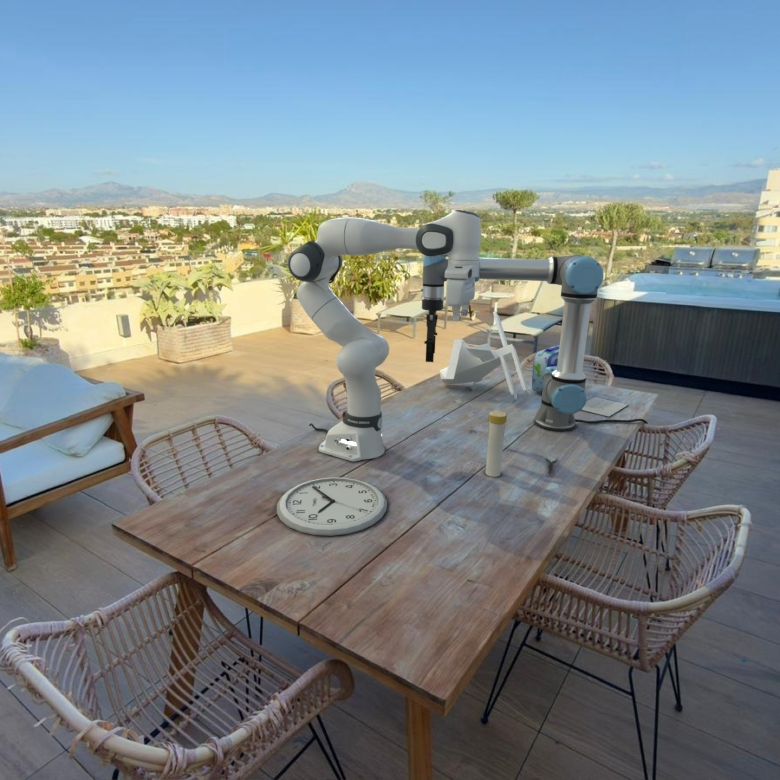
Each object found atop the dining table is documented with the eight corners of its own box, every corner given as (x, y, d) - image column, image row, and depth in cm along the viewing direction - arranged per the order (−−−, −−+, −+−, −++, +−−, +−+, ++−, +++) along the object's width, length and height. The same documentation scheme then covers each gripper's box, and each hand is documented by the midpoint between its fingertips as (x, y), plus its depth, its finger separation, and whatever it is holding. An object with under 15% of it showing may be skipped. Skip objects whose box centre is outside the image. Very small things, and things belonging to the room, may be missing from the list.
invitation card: (608, 416, 214) (573, 407, 224) (608, 416, 214) (573, 408, 224) (628, 404, 229) (594, 396, 238) (628, 405, 229) (594, 397, 238)
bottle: (493, 478, 160) (498, 418, 154) (482, 472, 164) (486, 414, 158) (503, 474, 163) (508, 415, 157) (492, 468, 166) (497, 411, 160)
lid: (497, 425, 154) (498, 417, 154) (484, 420, 158) (485, 412, 158) (509, 421, 157) (510, 414, 157) (496, 416, 161) (497, 409, 161)
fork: (544, 474, 162) (545, 469, 162) (548, 455, 177) (548, 449, 176) (553, 476, 161) (554, 470, 161) (556, 456, 176) (557, 450, 175)
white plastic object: (461, 429, 252) (437, 405, 227) (444, 352, 274) (420, 323, 250) (535, 404, 240) (518, 377, 215) (510, 326, 262) (492, 293, 237)
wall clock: (392, 527, 129) (268, 531, 127) (391, 533, 130) (269, 537, 127) (383, 473, 158) (282, 475, 155) (383, 478, 158) (282, 480, 156)
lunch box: (548, 398, 236) (553, 353, 229) (527, 393, 243) (531, 349, 237) (575, 387, 253) (581, 344, 247) (555, 382, 260) (560, 341, 254)
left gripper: (460, 267, 159) (458, 312, 163) (443, 272, 141) (440, 323, 145) (481, 268, 157) (478, 314, 161) (466, 273, 139) (463, 324, 143)
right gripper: (424, 293, 195) (422, 349, 202) (419, 302, 172) (417, 365, 178) (444, 294, 195) (441, 350, 201) (442, 303, 171) (439, 366, 177)
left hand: (460, 318), depth 153 cm, fingers open, 8 cm apart
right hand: (430, 357), depth 190 cm, fingers open, 13 cm apart
